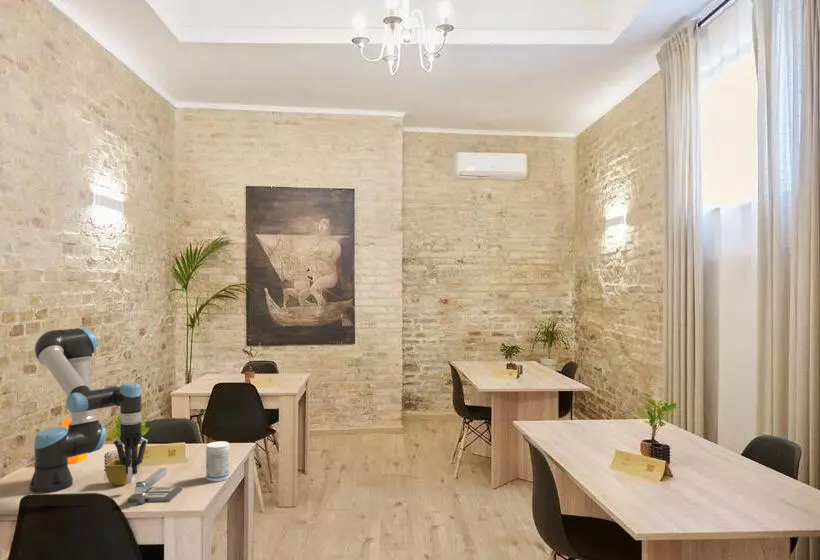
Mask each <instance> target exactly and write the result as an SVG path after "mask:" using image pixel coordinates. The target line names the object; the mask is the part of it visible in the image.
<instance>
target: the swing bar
mask: <svg viewBox="0 0 820 560" xmlns="http://www.w3.org/2000/svg"><path fill="white" fill-rule="evenodd" d="M167 473H168V467H164V468H163V467H160V468H159V469H158V470H156V471H155V472H154V473H152V474H151V475H149V476H148V477H147V478H146V479H144V480H141V481H138V482H136V483H135V486H134V494H142V493H143V492H145V491H146V490H147V489H148V488H150V487H153V486H154V485H155V484H156V483H158V482H159V481H160V480H161V479H163V478H164V477H165V476H166V475H167Z"/></svg>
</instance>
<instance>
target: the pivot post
mask: <svg viewBox="0 0 820 560" xmlns="http://www.w3.org/2000/svg"><path fill="white" fill-rule="evenodd" d="M136 504H137V505H138V506H140V505H141V506H142V505H145V504H146V502H145V492H143V493H142V494H137V502H136Z"/></svg>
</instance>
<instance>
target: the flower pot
mask: <svg viewBox="0 0 820 560" xmlns="http://www.w3.org/2000/svg"><path fill="white" fill-rule="evenodd" d="M131 463H132V458H131ZM130 465H132V464H130ZM105 472H106V477H107V480H108V482H109V483H110V485H111V486H112V487H113V486H125V485H127V484H129V483H128V474H126V466H125V465H121V463H120V459H113V460H112V461H110V462H108V463H107V464H106V465H105Z"/></svg>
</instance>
